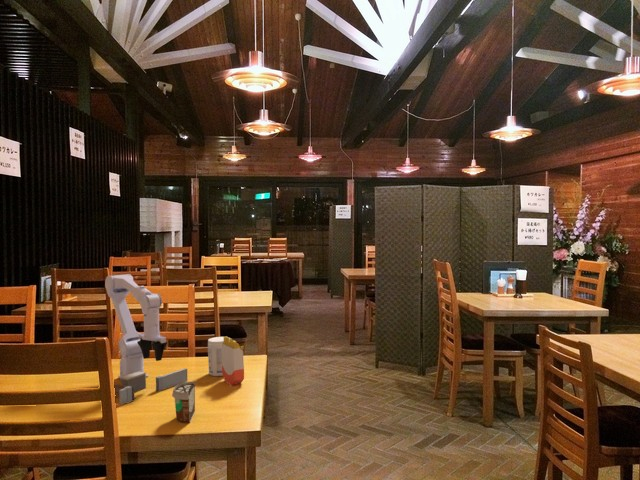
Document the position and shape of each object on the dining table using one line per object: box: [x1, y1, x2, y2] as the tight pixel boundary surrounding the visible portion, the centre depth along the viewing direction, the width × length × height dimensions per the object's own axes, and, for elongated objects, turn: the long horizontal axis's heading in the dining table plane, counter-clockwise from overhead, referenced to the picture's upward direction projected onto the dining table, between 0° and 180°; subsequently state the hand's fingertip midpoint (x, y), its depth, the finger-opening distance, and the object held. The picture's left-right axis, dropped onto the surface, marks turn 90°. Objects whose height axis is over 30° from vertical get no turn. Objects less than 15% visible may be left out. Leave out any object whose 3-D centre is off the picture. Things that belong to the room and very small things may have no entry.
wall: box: [118, 367, 188, 406], centre depth 180 cm, size 2×30×5 cm, turn 148°
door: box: [113, 382, 135, 402], centre depth 174 cm, size 1×11×5 cm, turn 62°
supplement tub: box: [207, 336, 231, 377], centre depth 202 cm, size 10×10×15 cm
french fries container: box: [222, 335, 245, 386], centre depth 190 cm, size 5×11×18 cm, turn 37°
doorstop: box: [120, 371, 147, 393], centre depth 182 cm, size 4×8×6 cm, turn 148°
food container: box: [171, 380, 196, 424], centre depth 155 cm, size 12×6×10 cm, turn 5°
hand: (152, 359), depth 189 cm, fingers open, 7 cm apart
